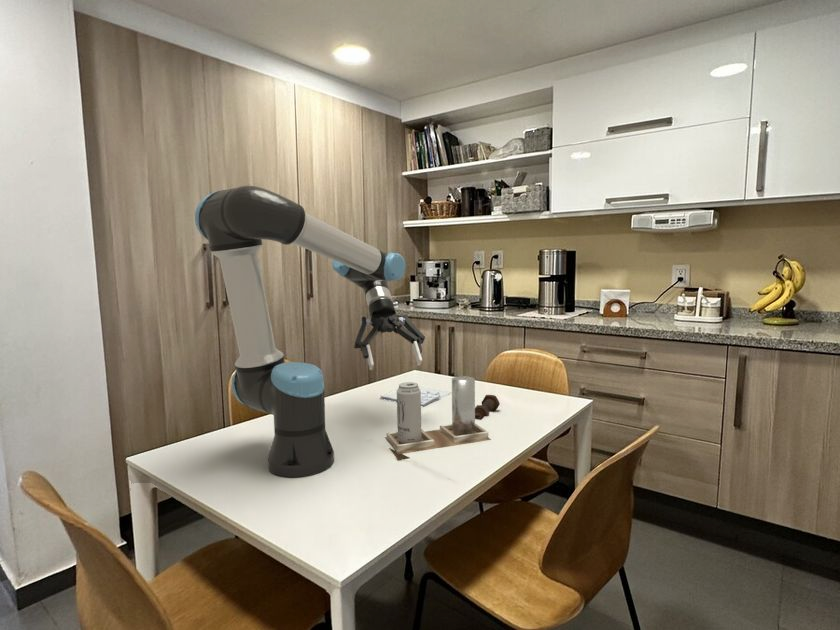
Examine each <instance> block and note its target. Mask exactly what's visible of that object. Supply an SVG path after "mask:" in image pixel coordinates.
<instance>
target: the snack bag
mask: <svg viewBox="0 0 840 630" xmlns="http://www.w3.org/2000/svg"><path fill="white" fill-rule="evenodd" d="M418 387H419V389H420V391H421V406H423V407H425V406H427V405H428V404H432V403H433V401H434V402H436V401H438V400H442V397H443V398H445V397H447V396H449V395H451V394H452V391H447V390H441V389H436V388H431V387H425V386H419V385H418ZM397 390H398V388H397V389H395V390H393V391H391V392H388V393H384V394H382V395H380V397H379V398H380V400H384V399H385V401H389V400H391V401H390V402H394V401H396V402H395V403H397ZM450 393H451V394H450ZM446 395H447V396H446ZM444 396H445V397H444ZM435 400H436V401H435Z"/></svg>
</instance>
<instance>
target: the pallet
mask: <svg viewBox="0 0 840 630" xmlns="http://www.w3.org/2000/svg"><path fill="white" fill-rule="evenodd" d="M385 434H386V437H384V439H385V440H386V441H387V442H388V443H389V445H390V447H392V448H390V447H389V448H388V449H389V450H390V452H391V453H392V454H393V455H394V457H395V458H396V459H397V461H402V459H403V460H409V459H410V456H407V455H405V454H409V453H415V452H416V453H417V452H420V451H421V452H422V451H427V450H428V451H429V450H433V449H441V448H442V449H443V448H447V447H454V446H460V445H467V444H474V443H480V442H485V441H491V440H492V439H491V438H490V437H489V431H487V430H486V429H484V428H483V427H481V426H480V425H478V424H477V423H475V433H473V434H467V435H460V436H455V435H454V434H453V433H452V423H449V424H443V425H439V429H434V430H426V431H424V429H423V428H421V440H420V441H419V442H414V443H407V444H400V441H399V440H398V431H392V432H387V433H385Z"/></svg>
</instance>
